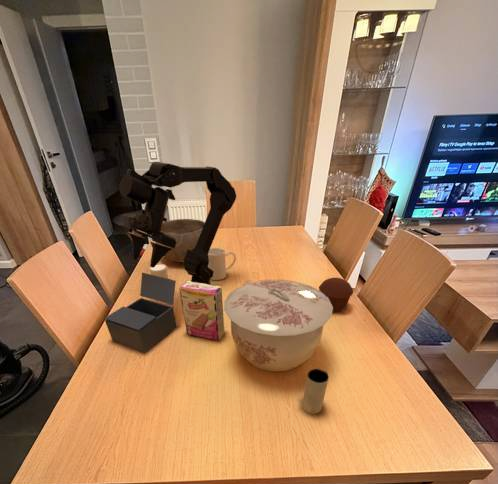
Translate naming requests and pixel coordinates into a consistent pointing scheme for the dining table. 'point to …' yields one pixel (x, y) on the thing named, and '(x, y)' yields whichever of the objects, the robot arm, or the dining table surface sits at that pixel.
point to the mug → (218, 263)
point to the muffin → (337, 292)
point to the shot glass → (159, 271)
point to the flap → (157, 288)
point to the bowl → (182, 236)
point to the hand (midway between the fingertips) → (143, 263)
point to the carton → (141, 324)
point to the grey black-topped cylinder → (315, 390)
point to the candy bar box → (203, 310)
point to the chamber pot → (277, 322)
